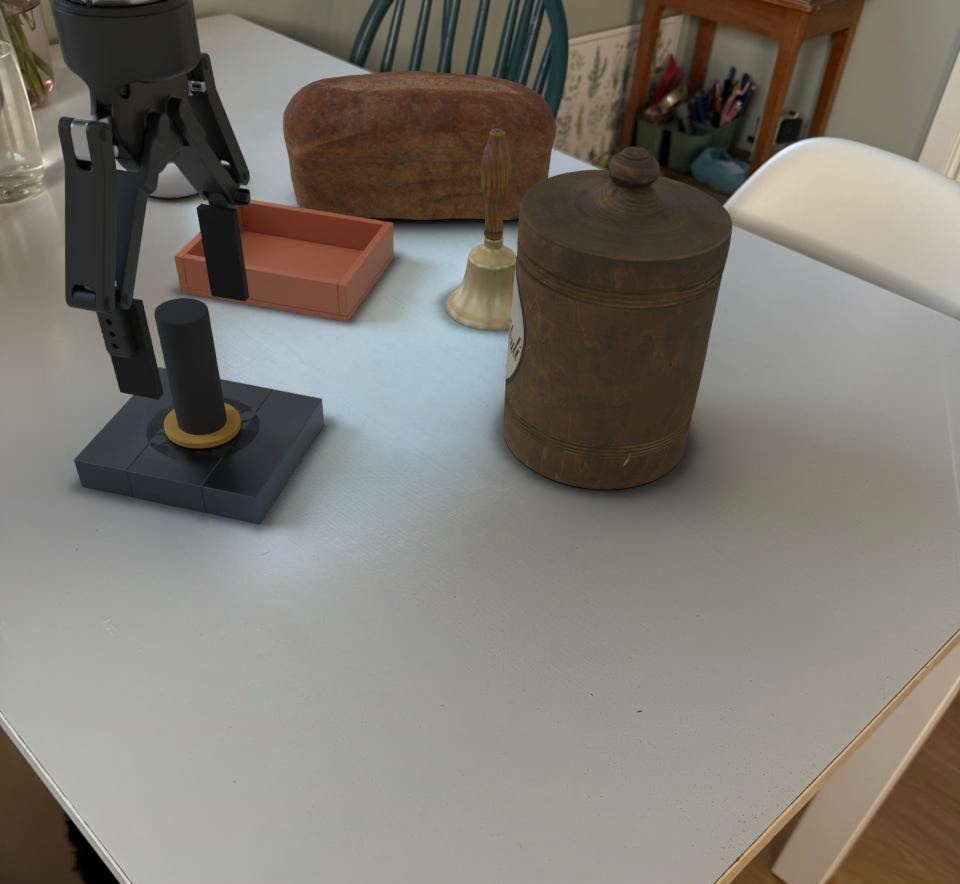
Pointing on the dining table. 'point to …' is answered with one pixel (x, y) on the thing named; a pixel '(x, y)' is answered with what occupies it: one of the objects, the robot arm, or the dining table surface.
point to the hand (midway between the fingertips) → (189, 342)
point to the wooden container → (611, 321)
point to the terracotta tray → (300, 259)
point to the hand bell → (489, 251)
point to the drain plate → (205, 453)
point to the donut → (172, 183)
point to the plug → (193, 376)
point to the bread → (412, 143)
